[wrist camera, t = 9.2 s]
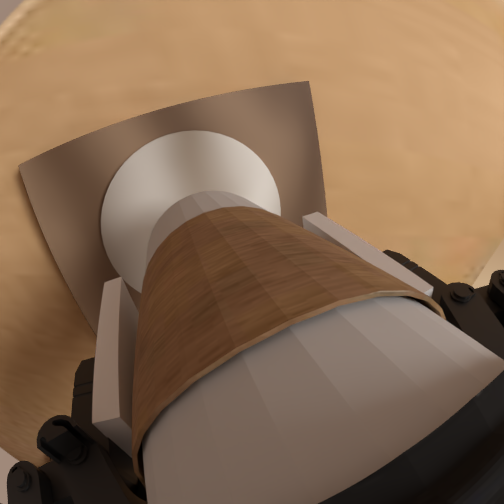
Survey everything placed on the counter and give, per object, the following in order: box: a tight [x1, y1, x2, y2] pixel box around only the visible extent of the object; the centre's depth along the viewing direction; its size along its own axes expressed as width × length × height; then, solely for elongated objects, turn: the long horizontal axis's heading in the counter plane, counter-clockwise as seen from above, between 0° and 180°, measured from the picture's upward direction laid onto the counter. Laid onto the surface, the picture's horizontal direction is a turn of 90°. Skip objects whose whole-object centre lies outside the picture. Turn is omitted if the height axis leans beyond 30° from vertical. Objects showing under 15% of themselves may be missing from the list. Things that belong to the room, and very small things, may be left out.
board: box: [18, 81, 327, 336], centre depth 19 cm, size 18×14×2 cm
